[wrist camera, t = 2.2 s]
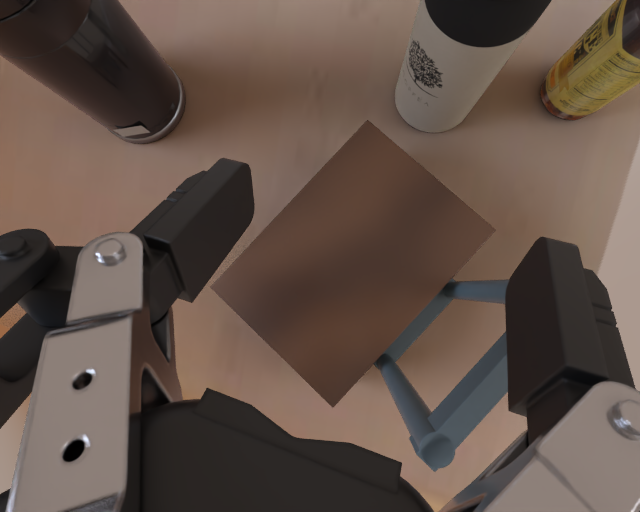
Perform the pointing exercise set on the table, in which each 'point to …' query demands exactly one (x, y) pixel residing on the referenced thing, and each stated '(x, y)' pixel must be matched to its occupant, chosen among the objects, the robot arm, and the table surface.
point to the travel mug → (458, 56)
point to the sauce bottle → (596, 64)
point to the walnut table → (352, 261)
